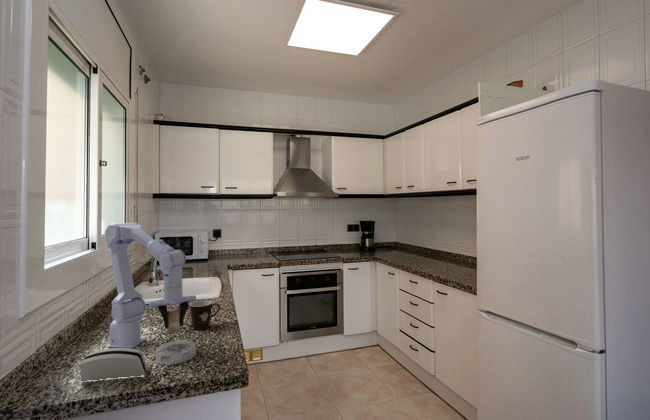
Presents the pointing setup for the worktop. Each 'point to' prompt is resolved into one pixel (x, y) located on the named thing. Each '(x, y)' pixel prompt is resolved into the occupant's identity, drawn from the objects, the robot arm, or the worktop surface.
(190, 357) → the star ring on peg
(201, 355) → the worktop surface
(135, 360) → the grey arched block
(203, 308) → the coffee mug
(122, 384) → the worktop surface
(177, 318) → the tan cylinder
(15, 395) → the worktop surface
